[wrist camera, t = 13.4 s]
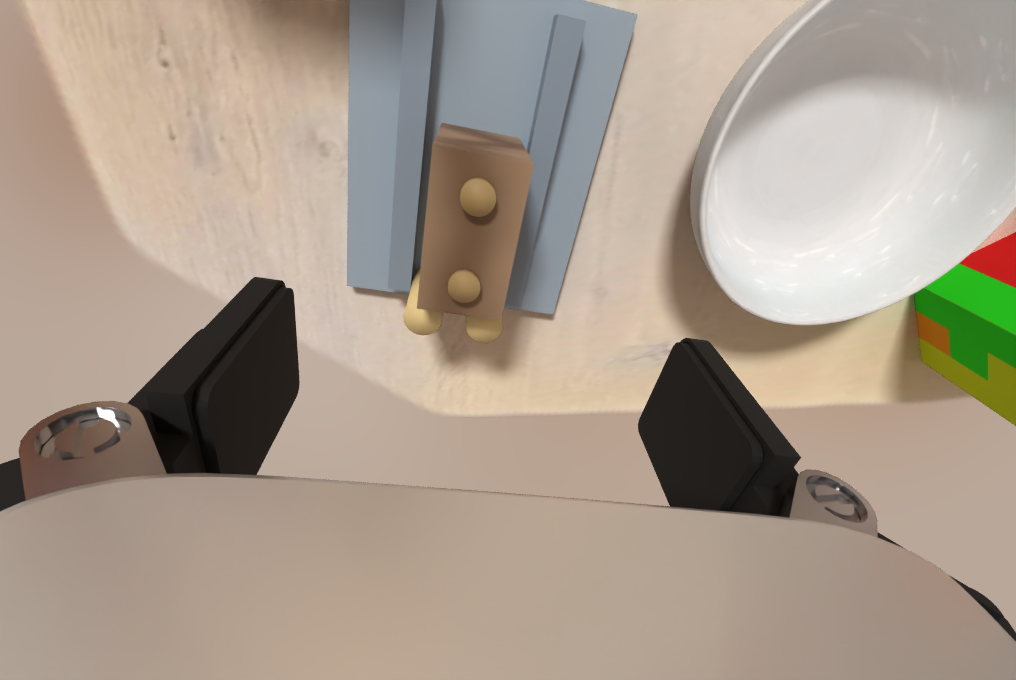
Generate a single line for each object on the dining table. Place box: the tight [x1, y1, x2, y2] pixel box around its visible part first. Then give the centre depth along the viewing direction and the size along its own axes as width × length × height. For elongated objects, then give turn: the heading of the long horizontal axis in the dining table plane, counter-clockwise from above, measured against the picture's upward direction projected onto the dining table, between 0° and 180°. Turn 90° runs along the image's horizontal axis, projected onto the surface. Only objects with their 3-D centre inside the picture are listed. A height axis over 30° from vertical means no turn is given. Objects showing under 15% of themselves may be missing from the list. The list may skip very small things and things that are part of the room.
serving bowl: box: [690, 0, 1016, 325], centre depth 29 cm, size 21×21×7 cm
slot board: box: [347, 0, 638, 343], centre depth 28 cm, size 16×20×7 cm
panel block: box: [417, 123, 534, 320], centre depth 27 cm, size 5×9×9 cm, turn 169°
